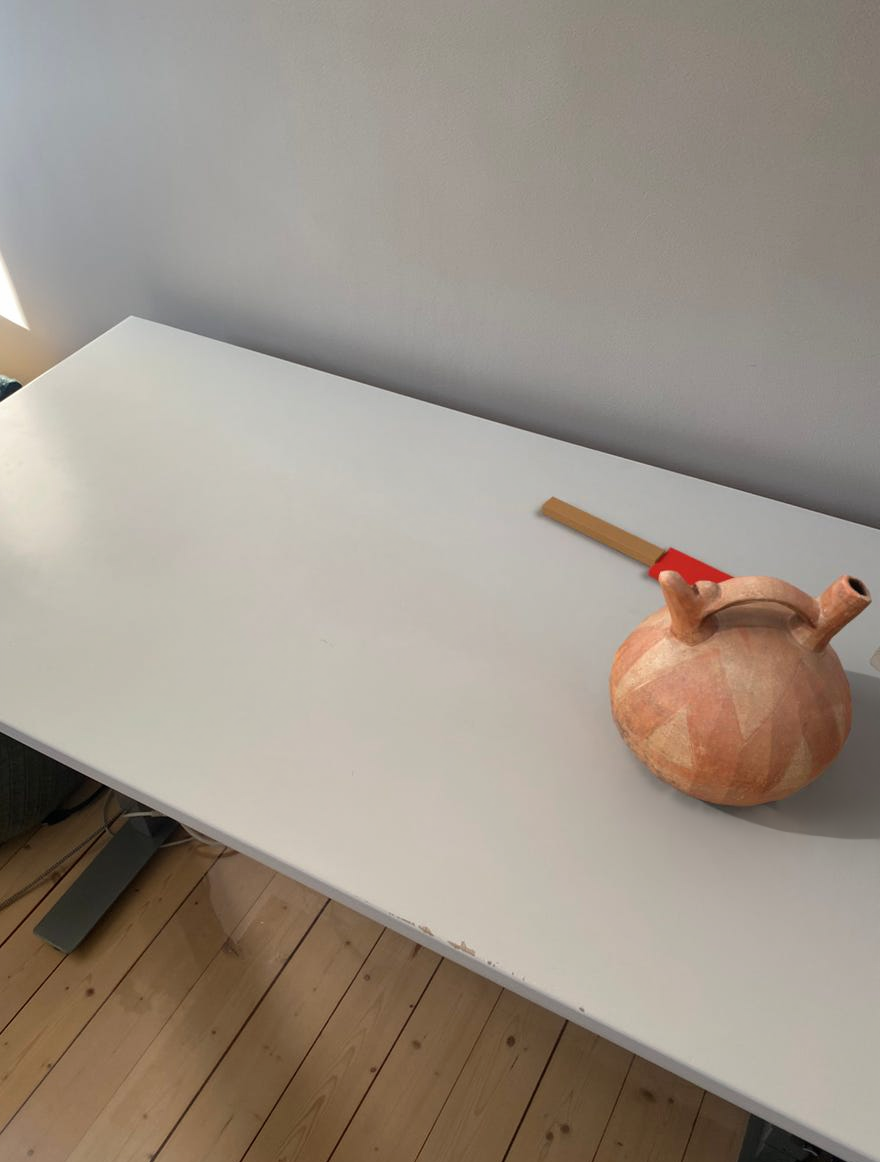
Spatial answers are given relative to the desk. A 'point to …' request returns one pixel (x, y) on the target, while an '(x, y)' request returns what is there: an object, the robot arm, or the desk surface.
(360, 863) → the desk surface
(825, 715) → the jug
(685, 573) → the spatula
